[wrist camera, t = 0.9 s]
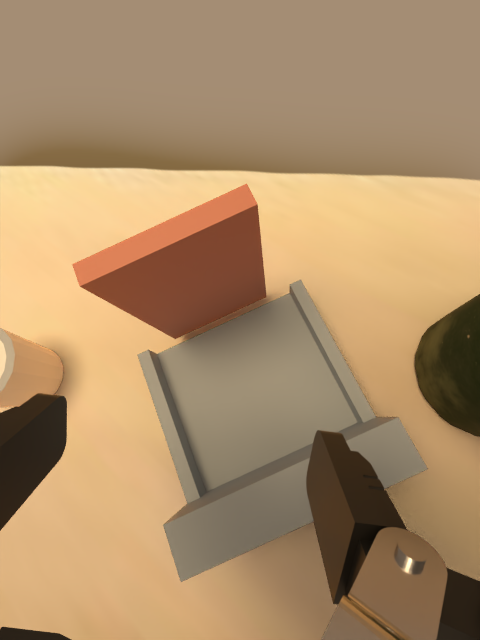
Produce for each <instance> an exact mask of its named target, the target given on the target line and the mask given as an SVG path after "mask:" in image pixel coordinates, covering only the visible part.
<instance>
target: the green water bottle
mask: <svg viewBox="0 0 480 640" xmlns="http://www.w3.org/2000/svg"><path fill="white" fill-rule="evenodd" d="M415 369H416V373H417V378H418V382H419V387H420V389H421V391H422V393H423V395H424V397H425V399H426V400H427V401H428V402H429V403H430V404H431V406H432V407H433V408H434V409H435V410H436V411H437V413H438V414H439V415H440V416H441V417H442V418H443V419H445V420H446V421H447V422H449V423H450V424H451V425H453V426H455V427H457V428H460V429H462V430H464V431H466V432H469V433H471V434H473V435H475V436H480V294H479V295H478V296H476V297H474V298H473V299H471V300H470V301H468V302H467V303H465V304H463V305H462V306H460V307H459V308H457V309H456V310H454V311H452V312H451V313H449V314H448V315H446V316H445V317H443V318H442V319H440V320H439V321H438V322H436V323H435V324H433V325H432V326H431V327H429V328H428V329H427V331H426V332H425V333H424V335H423V336H422V339H421V341H420V344H419V347H418V349H417V352H416V355H415Z"/></svg>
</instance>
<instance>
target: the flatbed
mask: <svg viewBox="0 0 480 640" xmlns="http://www.w3.org/2000/svg"><path fill="white" fill-rule="evenodd" d="M138 358H139V361H140V364H141V367H142V370H143V373H144V376H145V379H146V382H147V385H148V388H149V391H150V394H151V397H152V400H153V403H154V406H155V409H156V412H157V415H158V418H159V421H160V423H161V426H162V429H163V432H164V435H165V438H166V441H167V444H168V447H169V450H170V453H171V456H172V459H173V462H174V465H175V468H176V471H177V474H178V477H179V480H180V483H181V486H182V489H183V492H184V495H185V498H186V501H187V504H186V505H185V506H184V507H183V508H182V509H181V510H180V511H178V512H177V513H176V514H175V515H174V516H173V517H172V518H170V519H169V520H168V521H167V522H166V523H165V524H164V525H163V526H164V529H165V533H166V536H167V539H168V542H169V545H170V549H171V552H172V555H173V558H174V562H175V565H176V568H177V571H178V575H179V578H180V581H181V582H182V581H184V580H187V579H189V578H191V577H193V576H195V575H198V574H200V573H202V572H204V571H206V570H208V569H211V568H213V567H215V566H217V565H219V564H222V563H224V562H226V561H228V560H230V559H233V558H235V557H237V556H239V555H241V554H243V553H246V552H248V551H250V550H252V549H254V548H257V547H259V546H261V545H263V544H265V543H267V542H270V541H272V540H274V539H276V538H278V537H281V536H283V535H285V534H287V533H289V532H292V531H294V530H296V529H298V528H300V527H302V526H305V525H307V524H309V523H311V522H313V521H314V520H313V516H312V512H311V508H310V504H309V499H308V495H307V489H306V476H307V470H308V465H309V460H310V456H311V451H312V446H313V442H314V437H315V434H316V432H317V430H322V431H329V432H337V433H342V434H343V436H344V438H345V440H346V442H347V444H348V446H349V448H350V450H351V451H357V452H359V453H360V454H361V455H362V456H363V457H364V458H365V459H366V460H367V461H369V462H370V463H371V465H372V467H373V469H374V470H375V472H376V474H377V476H378V479H380V481H381V483H382V485H383V487H384V489H386V488H388V487H390V486H392V485H394V484H396V483H399V482H401V481H403V480H405V479H407V478H410V477H412V476H414V475H416V474H418V473H420V472H423V471H425V470H427V469H428V468H427V467H426V465H425V463H424V461H423V460H422V458H421V456H420V454H419V453H418V451H417V449H416V447H415V446H414V444H413V442H412V440H411V439H410V437H409V435H408V433H407V432H406V430H405V428H404V426H403V425H402V423H401V421H400V419H399V417H376V416H375V414H374V412H373V411H372V409H371V407H370V405H369V403H368V401H367V400H366V398H365V396H364V394H363V392H362V390H361V389H360V387H359V385H358V383H357V381H356V380H355V378H354V376H353V374H352V372H351V370H350V369H349V367H348V365H347V363H346V361H345V359H344V358H343V356H342V354H341V352H340V350H339V348H338V347H337V345H336V343H335V341H334V339H333V338H332V336H331V334H330V332H329V330H328V328H327V327H326V325H325V323H324V321H323V319H322V317H321V316H320V314H319V312H318V310H317V308H316V306H315V305H314V303H313V301H312V299H311V297H310V296H309V294H308V292H307V290H306V288H305V286H304V285H303V283H302V281H301V280H299V281H296V282H294V283H292V284H290V293H289V294H287V295H284V296H282V297H280V298H278V299H276V300H274V301H271V302H269V303H267V304H265V305H263V306H260V307H258V308H256V309H254V310H252V311H250V312H247V313H245V314H243V315H241V316H239V317H237V318H234V319H232V320H230V321H228V322H226V323H224V324H221V325H219V326H217V327H215V328H213V329H211V330H208V331H206V332H204V333H202V334H200V335H198V336H195V337H193V338H191V339H189V340H187V341H185V342H182V343H180V344H178V345H176V346H174V347H172V348H169V349H167V350H165V351H163V352H161V353H158V354H156V353H154V352H152V351H150V350H147V351H145V352H142V353H140V354H138Z"/></svg>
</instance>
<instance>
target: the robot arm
mask: <svg viewBox="0 0 480 640" xmlns="http://www.w3.org/2000/svg"><path fill="white" fill-rule="evenodd" d="M66 436H67V402H66V398H65V397H64V396H58V395H51V394H43V393H38V394H36V395H34V396H33V397H31V398H30V399H29V400H27V401H26V402H25V403H23V404H22V405H21V406H19V407H14V408H11V409H9V410H7V411H4V412H2V413H0V530H1V529H2V528H3V527H4V526H5V524H6V523H7V522H8V521H9V520H10V518H11V517H12V516H13V515H14V514H15V512H16V511H17V510H18V509H19V508H20V507H21V505H22V504H23V503H24V502H25V501H26V499H27V498H28V497H29V496H30V495H31V493H32V492H33V491H34V490H35V489H36V487H37V486H38V485H39V484H40V483H41V481H42V480H43V479H44V478H45V477H46V476H47V474H48V473H49V472H50V471H51V470H52V468H53V467H54V466H55V465H56V464H57V462H58V461H59V460H60V458H61V456H62V454H63V452H64V449H65V446H66ZM306 489H307V495H308V499H309V504H310V508H311V512H312V516H313V520H314V525H315V529H316V533H317V537H318V542H319V546H320V550H321V554H322V558H323V563H324V567H325V571H326V575H327V579H328V584H329V588H330V592H331V596H332V600H333V604H338V606H337V608H336V610H335V612H334V614H333V616H332V618H331V620H330V623H329V625H328V627H327V629H326V631H325V633H324V635H323V637H322V639H321V640H480V581H477V580H475V579H472V578H470V577H467V576H465V575H462V574H460V573H457V572H455V571H453V570H450V569H448V568H446V566H445V563H444V561H443V560H442V558H441V556H440V555H439V554H438V552H437V551H436V550H435V549H434V548H433V547H432V546H431V545H430V544H429V543H428V542H426V541H425V540H424V539H422V538H421V537H419V536H418V535H416V534H414V533H412V532H410V531H408V530H407V529H406V527H405V525H404V523H403V521H402V519H401V518H400V516H399V514H398V512H397V510H396V509H395V507H394V505H393V503H392V501H391V499H390V498H389V496H388V494H387V492H386V491H384V487H383V485H382V483H381V481H380V479H378V476H377V474H376V472H375V470H374V469H373V467H372V465H371V463H370V462H369V461H367V460H366V459H365V458H364V457H363V456H362V455H361V454H360V453H359V452H357V451H351V450H350V448H349V446H348V444H347V442H346V440H345V438H344V436H343V434H342V433H337V432H329V431H322V430H317V432H316V434H315V437H314V442H313V446H312V451H311V456H310V460H309V465H308V470H307V476H306ZM0 640H71V639H69V638H67V637H65V636H63V635H61V634H58V633H50V632H42V631H33V630H25V629H17V628H8V627H2V628H1V629H0Z"/></svg>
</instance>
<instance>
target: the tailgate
mask: <svg viewBox="0 0 480 640" xmlns="http://www.w3.org/2000/svg"><path fill="white" fill-rule="evenodd" d="M72 265H73V268H74V271H75V274H76V277H77V279H78V282H79V285H80V287H82V288H84V289H86V290H87V291H89V292H91V293H93V294H95V295H96V296H98V297H100V298H102V299H104V300H106V301H107V302H109V303H111V304H113V305H115V306H116V307H118V308H120V309H122V310H124V311H126V312H127V313H129V314H131V315H133V316H135V317H136V318H138V319H140V320H142V321H144V322H145V323H147V324H149V325H151V326H153V327H155V328H156V329H158V330H160V331H162V332H164V333H165V334H167V335H169V336H171V337H173V338H175V339H176V338H178V337H181V336H183V335H185V334H187V333H189V332H191V331H194V330H196V329H198V328H200V327H202V326H204V325H207V324H209V323H211V322H213V321H215V320H217V319H220V318H222V317H224V316H226V315H228V314H230V313H233V312H235V311H237V310H239V309H241V308H243V307H246V306H248V305H250V304H252V303H254V302H257V301H259V300H261V299H263V298H265V297H266V288H265V278H264V267H263V257H262V246H261V236H260V226H259V215H258V205H257V202H256V201H255V199H254V197H253V195H252V193H251V191H250V189H249V187H248V185H247V184H245V185H243V186H241V187H239V188H237V189H234V190H232V191H230V192H228V193H226V194H224V195H221V196H219V197H217V198H215V199H213V200H211V201H208V202H206V203H204V204H202V205H200V206H198V207H195V208H193V209H191V210H189V211H187V212H185V213H182V214H180V215H178V216H176V217H174V218H172V219H169V220H167V221H165V222H163V223H161V224H159V225H157V226H154V227H152V228H150V229H148V230H146V231H144V232H141V233H139V234H137V235H135V236H133V237H131V238H128V239H126V240H124V241H122V242H120V243H118V244H115V245H113V246H111V247H109V248H107V249H105V250H102V251H100V252H98V253H96V254H94V255H92V256H90V257H87V258H85V259H83V260H81V261H79V262H77V263H74V264H72Z"/></svg>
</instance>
